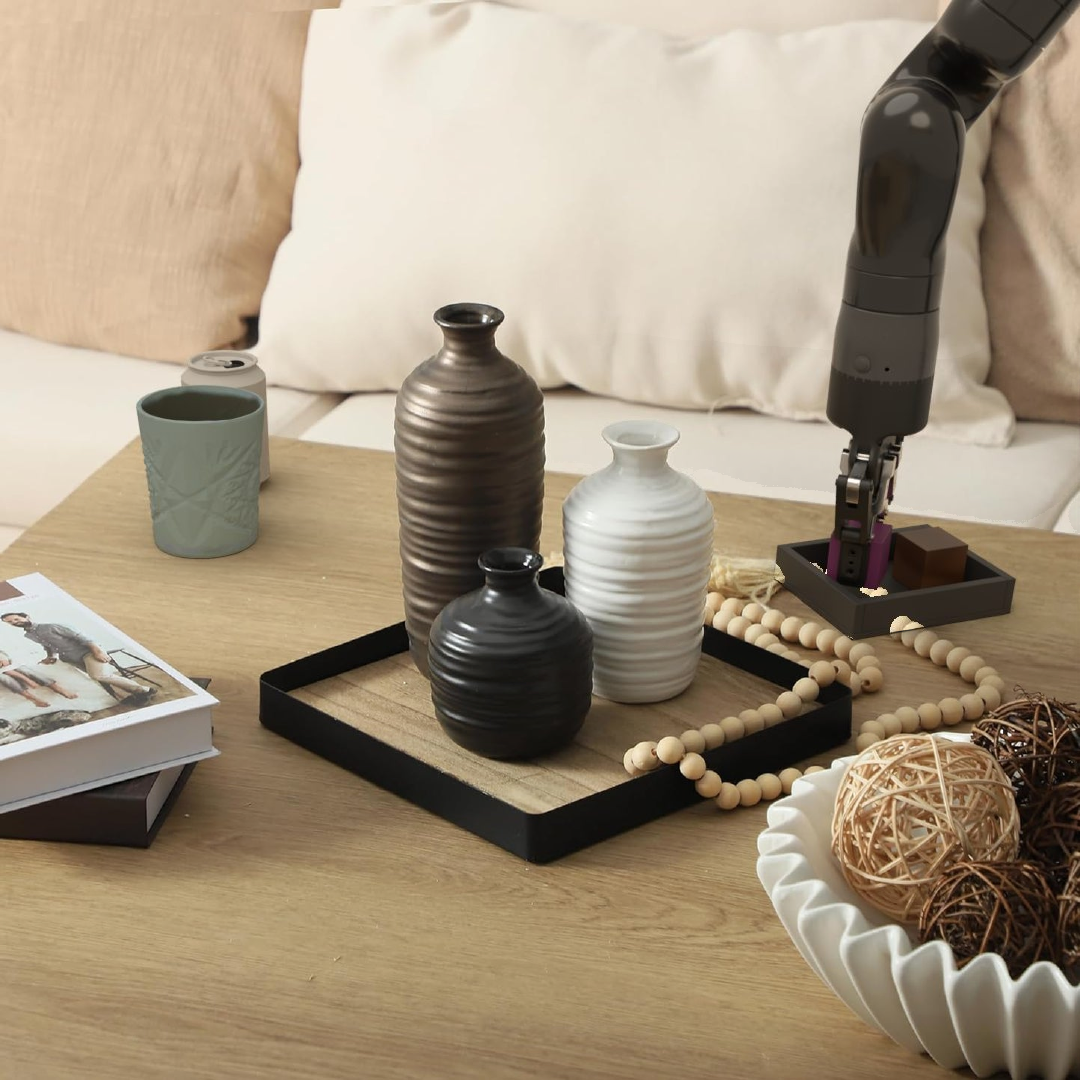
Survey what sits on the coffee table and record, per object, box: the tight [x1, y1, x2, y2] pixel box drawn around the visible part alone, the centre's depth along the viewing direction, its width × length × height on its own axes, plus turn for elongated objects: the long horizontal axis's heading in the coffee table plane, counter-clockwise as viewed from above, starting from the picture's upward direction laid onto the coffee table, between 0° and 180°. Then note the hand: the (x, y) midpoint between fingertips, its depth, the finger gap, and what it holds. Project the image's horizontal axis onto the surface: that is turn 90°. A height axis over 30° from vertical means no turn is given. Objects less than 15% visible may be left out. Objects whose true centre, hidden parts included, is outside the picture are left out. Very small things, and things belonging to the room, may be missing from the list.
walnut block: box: [891, 526, 969, 591], centre depth 118 cm, size 4×4×4 cm
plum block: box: [827, 520, 894, 590], centre depth 115 cm, size 4×4×4 cm
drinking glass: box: [135, 385, 265, 559], centre depth 122 cm, size 10×10×12 cm
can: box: [180, 349, 271, 486], centre depth 134 cm, size 8×8×12 cm
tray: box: [774, 523, 1017, 641], centre depth 117 cm, size 15×12×3 cm
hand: (857, 572), depth 116 cm, fingers closed on plum block, 4 cm apart
